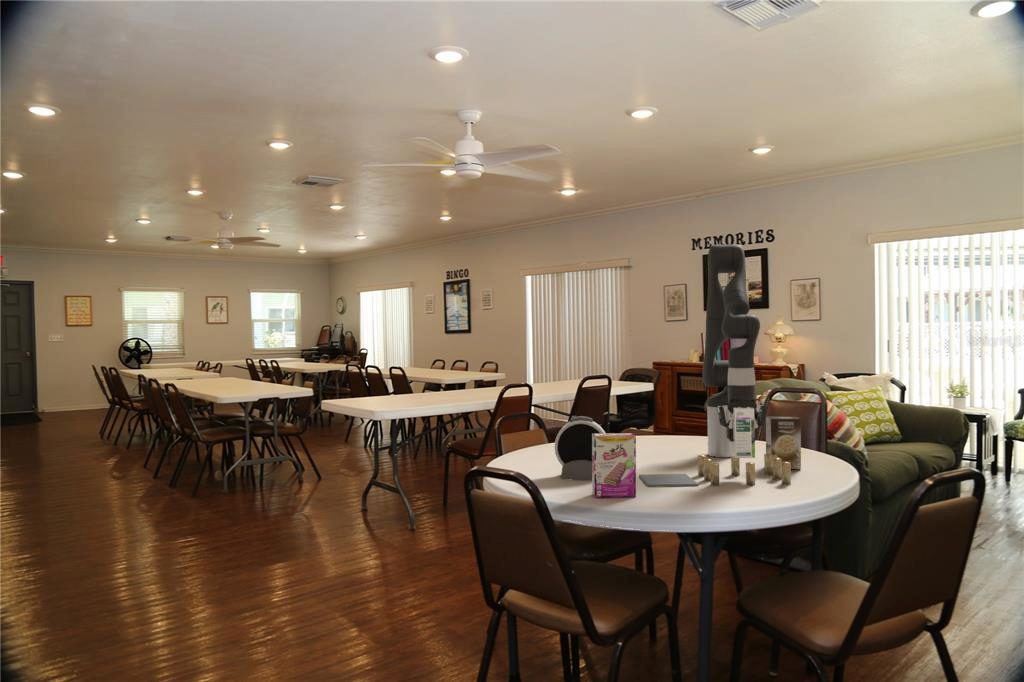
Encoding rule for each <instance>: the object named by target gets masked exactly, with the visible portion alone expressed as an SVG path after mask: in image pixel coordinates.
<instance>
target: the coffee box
mask: <svg viewBox="0 0 1024 682" xmlns="http://www.w3.org/2000/svg"><path fill="white" fill-rule="evenodd" d="M765 454H772V455H773V458H781V462H790V466H791V469H798V470H797V471H800V470H799V469H801V470H802V418H800V417H796V416H775V415H774V416H769V415H768V416H767V415H765Z"/></svg>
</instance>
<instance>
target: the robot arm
mask: <svg viewBox="0 0 1024 682" xmlns="http://www.w3.org/2000/svg"><path fill="white" fill-rule="evenodd" d="M746 270H747V269H746V255H745V249H744V248H743V246H742V245H741V244H737V243H733V244H732V243H731V244H729V243H728V244H713V245H711V246H710V247H709V249H708V253H707V284H708V285H707V299H706V300H707V302H706V303H707V304H706V314H705V315H706V316H705V317H706V318H705V345H704V346H705V348H704V355H703V362H702V372H701V373H702V376H701V377H702V383H703V384H704V386H706V387H711V388H712V387H714V388H715V387H716V388H719V387H720V388H721V387H722V388H723V387H724V389H723V390H722V391H721V392H719V393H717V394H715V395H713V396H710V397H708V398H707V400H706V401H707V403H706V404H707V406H706V407H707V408H706V409H707V455H708V456H710V457H714V456H715V457H716V458H731V454H730V441H731V442H733V441H734V435H733V429H732V428H733V421H734V416H733V417H732V418H731V414H733V408H735V407H736V408H741V407H746V408H750V407H752V408H754V412H755V411H756V412H757V413H758V414H757V419H756V418H755V416H754V428H755V441H756V440H757V439H758V429H759V427H763V426H764V425H765V422H766V416H767V415H766V414H767V406H766V405H763V404H757V403H756V375H755V360H754V359H755V357H754V356H755V347H756V344H757V339H758V336H759V334H760V329H761V322H760V319H759V317H757V316H756V315H755V314H749V312H750V304H749V298H748V297H749V296H748V294H747V272H746ZM719 274H734V275H733V276H732V278H731V279H730V281H728V283H727V284H726V285H725V287H724V289H723V287H722V285H721V283H720V280H719ZM727 339H729V340H739V339H740V340H743V339H746V340H745V342H744V343H743V344H742V345H740V346H734V347H731V348H729V350H728V352H727V353H728V354H727V355H728V360H727V359H726V360H725V359H724V360H722V359H721V360H717V359H716V357H717V353H718V351H719V350H720V348H721V347H722V345H724V344H725V342H726V341H727ZM729 411H730V413H731V414H730V416H729Z"/></svg>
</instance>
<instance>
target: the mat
mask: <svg viewBox="0 0 1024 682" xmlns="http://www.w3.org/2000/svg"><path fill="white" fill-rule="evenodd" d="M638 478H640V479H641V480H642V482H643V483H644V482H645V483H646V484H647V485H648V486H670V487H699V483H698V482H697V481H695V480H694V479H692V477H690V476H689V475H687V474H686V473H662V474H661V473H658V474H657V473H655V474H651V473H650V474H645V473H644V474H638ZM645 483H644V484H645ZM646 484H645V485H646ZM647 485H646V486H647ZM648 486H647V487H648Z"/></svg>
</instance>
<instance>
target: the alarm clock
mask: <svg viewBox="0 0 1024 682" xmlns="http://www.w3.org/2000/svg"><path fill="white" fill-rule="evenodd" d="M569 419H570V420H569V421H568V422H567V423H566V424H565V425H563V426H562V427H561V429H560V430H559V431H558V433H557V434H556V438H555V440H554V454H555V456H556V458H557V461H558V462H559V464H561V475H560V479H561V478H562V479H561V480H565V479H572V480H571V481H592V434H607V433H606V431H605V430H604V429H603V428H602V426H601V425H599V424H598V423H597V422H595V421H594V420H593V418H592V417H589V416H585V415H584V416H583V415H580V416H574V417H571V418H569Z"/></svg>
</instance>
